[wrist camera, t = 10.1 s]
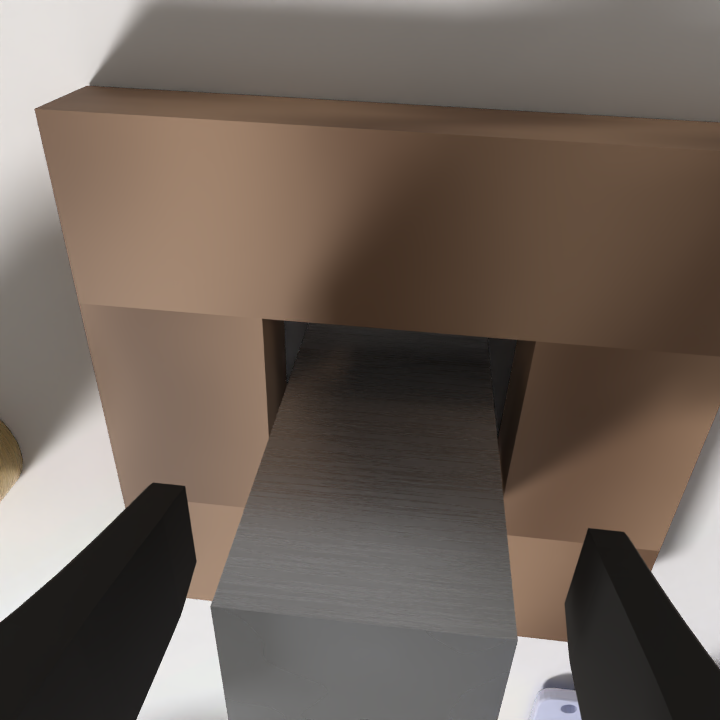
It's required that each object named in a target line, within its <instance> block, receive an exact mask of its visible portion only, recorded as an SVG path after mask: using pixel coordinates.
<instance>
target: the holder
mask: <svg viewBox="0 0 720 720" xmlns="http://www.w3.org/2000/svg"><path fill="white" fill-rule="evenodd" d="M35 113H36V118H37V122H38V126H39V131H40V135H41V140H42V144H43V148H44V153H45V157H46V161H47V166H48V170H49V175H50V179H51V183H52V188H53V192H54V197H55V201H56V205H57V210H58V214H59V219H60V223H61V227H62V232H63V236H64V240H65V245H66V249H67V254H68V258H69V262H70V267H71V271H72V276H73V280H74V284H75V289H76V293H77V298H78V302H79V306H80V311H81V315H82V319H83V324H84V328H85V333H86V337H87V341H88V346H89V350H90V355H91V359H92V363H93V368H94V372H95V377H96V381H97V385H98V390H99V394H100V398H101V403H102V407H103V412H104V416H105V420H106V425H107V429H108V434H109V438H110V442H111V447H112V451H113V456H114V460H115V464H116V469H117V473H118V477H119V482H120V486H121V491H122V495H123V499H124V504H125V508H127V507H128V506H129V505H130V504H131V503H132V502H133V501H134V500H135V499H136V498H137V497H138V496H139V495H140V494H141V493H142V492H143V491H144V490H145V489H146V488H147V487H148V486H149V485H150V484H152V483H153V482H154V483H163V484H173V485H182V486H185V488H186V494H187V501H188V507H189V514H190V521H191V527H192V534H193V540H194V547H195V554H196V560H197V562H196V566H195V569H194V573H193V576H192V580H191V583H190V587H189V590H188V594H187V597H186V598H192V599H200V600H209V601H213V598H214V595H215V592H216V589H217V587H218V584H219V581H220V578H221V575H222V572H223V569H224V566H225V563H226V561H227V558H228V555H229V552H230V549H231V546H232V543H233V540H234V537H235V535H236V532H237V529H238V526H239V523H240V520H241V517H242V514H243V511H244V509H245V506H246V503H247V500H248V497H249V494H250V491H251V488H252V485H253V483H254V480H255V477H256V474H257V471H258V468H259V465H260V462H261V459H262V457H263V454H264V451H265V448H266V445H267V442H268V439H269V436H270V433H271V431H272V428H273V425H274V422H275V419H276V416H277V413H278V410H279V407H280V405H281V402H282V399H283V396H284V393H285V390H286V387H287V383H286V355H285V326H284V320H285V321H297V322H309V323H321V324H333V325H345V326H357V327H369V328H381V329H393V330H405V331H417V332H429V333H441V334H453V335H465V336H477V337H489V338H501V339H513V340H517V343H516V348H515V353H514V359H513V364H512V369H511V374H510V380H509V385H508V390H507V395H506V401H505V406H504V411H503V416H502V422H501V427H500V432H499V437H498V449H499V459H500V469H501V479H502V489H503V499H504V509H505V519H506V529H507V539H508V549H509V559H510V569H511V579H512V588H513V598H514V608H515V618H516V628H517V636H521V637H530V638H539V639H547V640H556V641H565V642H568V640H567V628H566V616H565V604H564V603H565V600H566V597H567V594H568V590H569V587H570V584H571V581H572V578H573V575H574V571H575V568H576V565H577V562H578V559H579V556H580V552H581V549H582V546H583V543H584V540H585V537H586V533H587V530H588V528H593V529H603V530H612V531H622V532H625V533H626V535H627V536H628V537H629V538H630V540H631V541H632V543H633V545H634V546H635V548H636V549H637V551H638V552H639V554H640V555H641V557H642V559H643V560H644V562H645V563H646V565H647V566H648V568H649V569H650V571H651V570H652V568H653V565H654V563H655V561H656V558H657V556H658V553H659V551H660V548H661V546H662V544H663V541H664V539H665V536H666V534H667V532H668V529H669V527H670V524H671V522H672V519H673V517H674V515H675V512H676V510H677V507H678V505H679V503H680V500H681V498H682V495H683V493H684V491H685V488H686V486H687V483H688V481H689V478H690V476H691V474H692V471H693V469H694V466H695V464H696V462H697V459H698V457H699V454H700V452H701V449H702V447H703V445H704V442H705V440H706V437H707V435H708V433H709V430H710V428H711V425H712V423H713V421H714V418H715V416H716V413H717V411H718V408H719V406H720V123H718V122H701V121H684V120H667V119H650V118H632V117H615V116H598V115H581V114H564V113H546V112H529V111H512V110H495V109H478V108H460V107H443V106H426V105H409V104H392V103H374V102H357V101H340V100H323V99H306V98H288V97H271V96H254V95H237V94H220V93H202V92H185V91H168V90H151V89H134V88H116V87H99V86H85V87H83V88H81V89H78V90H76V91H74V92H72V93H69V94H67V95H65V96H63V97H60V98H58V99H56V100H54V101H51V102H49V103H47V104H45V105H42V106H40V107H38V108H35Z"/></svg>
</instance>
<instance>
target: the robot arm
mask: <svg viewBox="0 0 720 720" xmlns="http://www.w3.org/2000/svg"><path fill="white" fill-rule="evenodd" d="M196 562H197V560H196V554H195V547H194V540H193V534H192V527H191V521H190V514H189V507H188V501H187V494H186V488H185V486H182V485H173V484H163V483H154V482H153V483H152V484H150V485H149V486H148V487H147V488H146V489H145V490H144V491H143V492H142V493H141V494H140V495H139V496H138V497H137V498H136V499H135V500H134V501H133V502H132V503H131V504H130V505H129V506H128V507H127V508H126V509H125V510H124V511H123V512H122V513H121V514H120V515H119V516H118V517H117V518H116V519H115V520H114V521H113V522H112V523H111V524H110V525H109V526H107V527H106V528H105V529H104V530H103V531H102V532H101V533H100V534H99V535H98V536H97V537H96V538H95V539H94V540H93V541H92V542H91V543H90V544H89V545H88V546H87V547H86V548H85V549H83V550H82V551H81V552H80V553H79V554H78V555H77V556H76V557H75V558H74V559H73V560H72V561H71V562H70V563H69V564H67V565H66V566H65V567H64V568H63V569H62V570H61V571H60V572H59V573H58V574H57V575H55V576H54V577H53V578H52V579H51V580H50V581H49V582H47V583H46V584H45V585H44V586H43V587H42V588H40V589H39V590H38V591H37V592H36V593H35V594H34V595H32V596H31V597H30V598H29V599H28V600H27V601H25V602H24V603H23V604H22V605H21V606H20V607H18V608H17V609H16V610H15V611H14V612H12V613H11V614H10V615H9V616H8V617H6V618H5V619H4V620H3V621H1V622H0V720H136V719H137V717H138V714H139V712H140V710H141V707H142V705H143V703H144V700H145V698H146V696H147V693H148V691H149V689H150V687H151V684H152V682H153V680H154V677H155V675H156V673H157V670H158V668H159V666H160V663H161V661H162V659H163V656H164V654H165V652H166V649H167V647H168V645H169V642H170V640H171V638H172V635H173V633H174V631H175V628H176V626H177V623H178V621H179V618H180V616H181V613H182V610H183V607H184V603H185V600H186V597H187V594H188V590H189V587H190V583H191V580H192V576H193V573H194V569H195V566H196ZM564 604H565V616H566V628H567V640H568V650H569V659H570V666H571V671H572V676H573V681H574V686H575V690H568V689H560V688H546V689H543V690H541V691H539V693H538V694H537V696H536V699H535V702H534V705H533V708H532V711H531V715H530V718H529V720H720V669H719V667H718V666H717V665H716V664H715V662H714V661H713V660H712V658H711V657H710V656H709V654H708V653H707V651H706V650H705V649H704V647H703V646H702V645H701V643H700V642H699V640H698V639H697V638H696V636H695V635H694V633H693V632H692V631H691V629H690V628H689V627H688V625H687V624H686V622H685V621H684V620H683V618H682V617H681V615H680V614H679V612H678V611H677V610H676V608H675V607H674V605H673V604H672V602H671V601H670V599H669V598H668V596H667V595H666V593H665V592H664V590H663V589H662V587H661V586H660V585H659V583H658V582H657V580H656V578H655V577H654V575H653V574H652V572H651V571H650V569H649V568H648V566H647V565H646V563H645V562H644V560H643V559H642V557H641V555H640V554H639V552H638V551H637V549H636V548H635V546H634V545H633V543H632V541H631V540H630V538H629V537H628V536H627V535H626V533H625V532H622V531H612V530H603V529H593V528H588V530H587V533H586V537H585V540H584V543H583V546H582V549H581V552H580V556H579V559H578V562H577V565H576V568H575V571H574V575H573V578H572V581H571V584H570V587H569V590H568V594H567V597H566V600H565V603H564Z"/></svg>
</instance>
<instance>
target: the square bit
mask: <svg viewBox="0 0 720 720" xmlns="http://www.w3.org/2000/svg"><path fill="white" fill-rule="evenodd" d="M211 612H212V619H213V625H214V631H215V638H216V644H217V650H218V656H219V663H220V669H221V675H222V682H223V688H224V694H225V701H226V707H227V713H228V720H497V719H498V715H499V712H500V708H501V704H502V700H503V696H504V692H505V688H506V684H507V680H508V676H509V673H510V669H511V665H512V661H513V657H514V653H515V649H516V645H517V641H518V638H517V628H516V618H515V608H514V598H513V588H512V579H511V569H510V559H509V549H508V539H507V529H506V519H505V509H504V499H503V489H502V479H501V469H500V459H499V449H498V439H497V429H496V420H495V410H494V400H493V390H492V380H491V370H490V360H489V350H488V340H487V337H477V336H465V335H453V334H441V333H429V332H417V331H405V330H393V329H381V328H369V327H357V326H345V325H333V324H321V323H309V324H308V327H307V329H306V332H305V335H304V338H303V341H302V344H301V347H300V350H299V353H298V355H297V358H296V361H295V364H294V367H293V370H292V373H291V376H290V379H289V381H288V384H287V387H286V390H285V393H284V396H283V399H282V402H281V405H280V407H279V410H278V413H277V416H276V419H275V422H274V425H273V428H272V431H271V433H270V436H269V439H268V442H267V445H266V448H265V451H264V454H263V457H262V459H261V462H260V465H259V468H258V471H257V474H256V477H255V480H254V483H253V485H252V488H251V491H250V494H249V497H248V500H247V503H246V506H245V509H244V511H243V514H242V517H241V520H240V523H239V526H238V529H237V532H236V535H235V537H234V540H233V543H232V546H231V549H230V552H229V555H228V558H227V561H226V563H225V566H224V569H223V572H222V575H221V578H220V581H219V584H218V587H217V589H216V592H215V595H214V598H213V601H212V604H211Z"/></svg>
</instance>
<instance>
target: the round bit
mask: <svg viewBox="0 0 720 720" xmlns="http://www.w3.org/2000/svg"><path fill="white" fill-rule="evenodd" d="M22 464H23V463H22V455H21V451H20V448H19V446H18V443H17V442H16V440H15V438H14V436H13V435H12V433H11V432H10V431H9V429H8V428H7V427H6V426H5V425H4V424H3V422H2V421H1V420H0V502H1V501H2V499H3V498H4V497H5V495H6V494H7V493H8V492H9V490H10V489H11V488H12V486H13V485H14V484H15V482H16V481H17V480H18V478H19V476H20V474H21V471H22Z"/></svg>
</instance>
